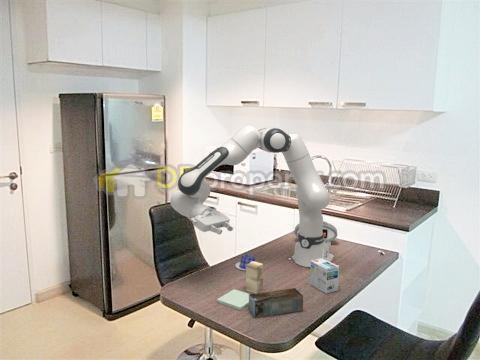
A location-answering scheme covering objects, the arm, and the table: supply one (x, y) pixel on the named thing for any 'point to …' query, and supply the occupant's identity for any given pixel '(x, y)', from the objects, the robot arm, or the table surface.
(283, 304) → the beverage carton
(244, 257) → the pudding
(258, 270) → the beech block
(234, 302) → the sage tile
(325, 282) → the light bulb box
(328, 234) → the alarm clock
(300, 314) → the table surface
